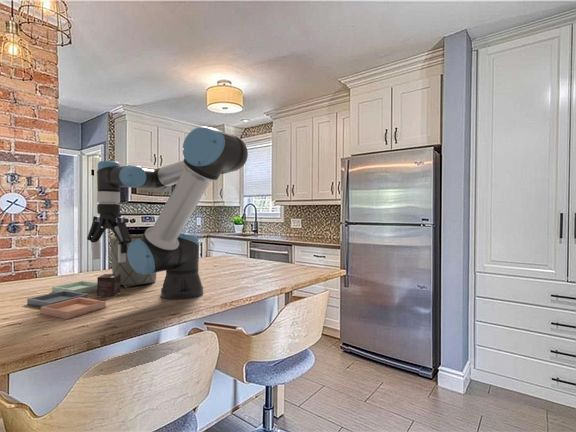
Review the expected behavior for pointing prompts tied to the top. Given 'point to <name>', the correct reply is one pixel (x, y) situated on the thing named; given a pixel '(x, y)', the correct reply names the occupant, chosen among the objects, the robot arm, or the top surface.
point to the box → (108, 285)
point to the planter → (128, 266)
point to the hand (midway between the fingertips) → (108, 260)
